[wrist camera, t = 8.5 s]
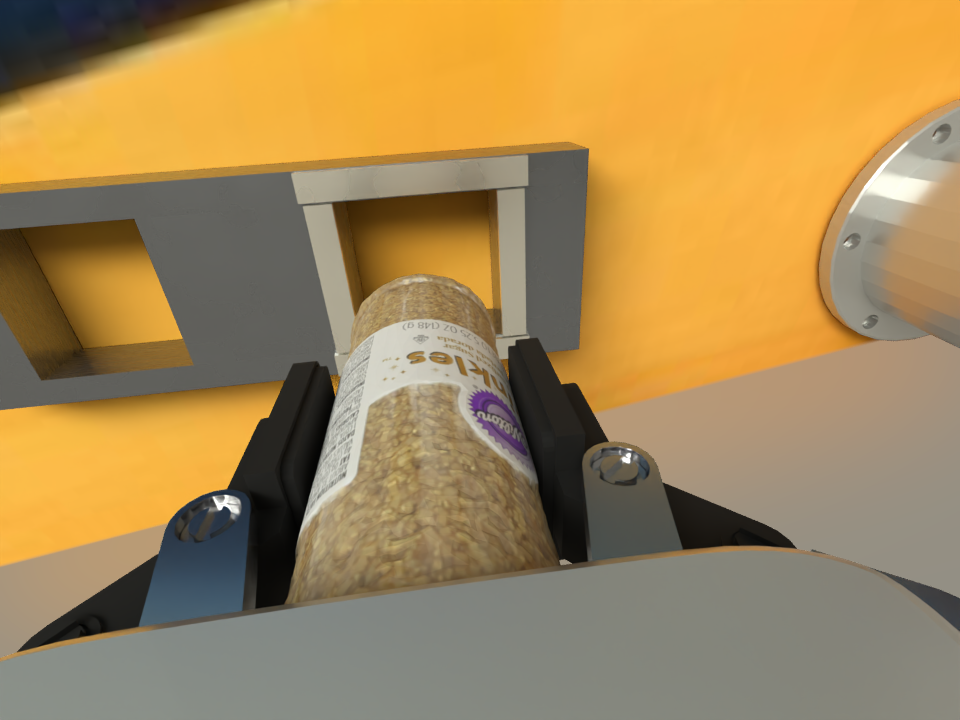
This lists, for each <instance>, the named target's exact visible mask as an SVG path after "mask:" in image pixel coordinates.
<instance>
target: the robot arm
mask: <svg viewBox="0 0 960 720" xmlns="http://www.w3.org/2000/svg"><path fill="white" fill-rule="evenodd" d="M819 280H820V288H821V291H822V295H823V298H824V302H825V303H826V305H827V307H828V308H829V310H830V311H831V313H832V315H833V316H834V317H836V318H837V319H838V320H839V321H840V322H841V323H842V324H843V325H845V326H847V327H848V328H850V329H852V330H854V331H856V332H857V333H859V334H861V335H864V336H867V337H870V338H873V339H877V340H887V341H900V340H910V339H916V338H920V337H923V336H927V335H933V336H935V337H938V338H940V339H942V340H944V341H946V342H948V343H950V344H952V345H954V346H956V347H959V348H960V99H959V100H956V101H953V102H951V103H949V104H947V105H945V106H943V107H940V108H938V109H936V110H934V111H932V112H930V113H928V114H926V115H925V116H923V117H922V118H920V119H919V120H917V121H916V122H914V123H913V124H911V125H910V126H908V127H907V128H905V129H904V130H903V131H901V132H900V133H899V134H898V135H897V136H896V137H895V138H893V139H892V140H891V141H890V142H889V143H888V144H887V145H885V146H884V147H883V148H882V149H881V150H880V151H879V152H878V153H877V154H876V155H875V156H874V157H873V158H872V160H871V161H870V162H869V163H868V164H867V165H866V166H865V167H864V168H863V170H862V171H861V172H860V173H859V174H858V176H857V177H856V179H855V180H854V182H853V183H852V184H851V186H850V187H849V189H848V190H847V192H846V193H845V195H844V196H843V198H842V200H841V201H840V203H839V205H838V207H837V209H836V211H835V213H834V215H833V217H832V219H831V221H830V224H829V227H828V230H827V232H826V235H825V238H824V241H823V244H822V250H821V256H820V262H819ZM508 367H509V384H510V387H511V390H512V394H513V397H514V400H515V404H516V407H517V410H518V413H519V417H520V420H521V423H522V427H523V430H524V433H525V436H526V440H527V443H528V447H529V450H530V453H531V457H532V460H533V463H534V467H535V470H536V474H537V478H538V489H539V494H540V497H541V501H542V506H543V511H544V513H545V515H546V520H547V523H548V528H549V530H550V533H551V536H552V539H553V542H554V544H555V547H556V550H557V553H558V556H559V560H563V559H565V560H567V561H569V562H571V563H572V564H567V565H560V566H553V567H545V568H538V569H531V570H524V571H516V572H509V573H502V574H494V575H487V576H480V577H473V578H466V579H459V580H452V581H445V582H438V583H431V584H423V585H416V586H409V587H402V588H395V589H388V590H381V591H375V592H368V593H361V594H354V595H347V596H340V597H333V598H326V599H319V600H312V601H306V602H299V603H292V604H285V605H284V603H285V602H286V600H287V598H288V594H289V589H290V584H291V578H292V576H293V572H294V568H295V564H296V546H297V541H298V537H299V533H300V530H301V526H302V522H303V519H304V515H305V511H306V507H307V504H308V500H309V496H310V493H311V489H312V485H313V482H314V478H315V474H316V470H317V466H318V462H319V459H320V455H321V451H322V447H323V443H324V439H325V435H326V431H327V427H328V424H329V420H330V416H331V412H332V408H333V404H334V400H335V393H334V389H333V385H332V381H331V377H330V373H329V370H328V367H327V366H320V364H319V362H318V361H311V362H302V363H293V365H292V367H291V369H290V371H289V373H288V376H287V378H286V380H285V382H284V384H283V387H282V389H281V391H280V393H279V396H278V398H277V400H276V402H275V405H274V407H273V409H272V411H271V413H270V416H269V418H264V419H261V420H260V422H259V423H258V425H257V427H256V429H255V431H254V433H253V435H252V438H251V440H250V442H249V444H248V446H247V448H246V450H245V452H244V455H243V457H242V459H241V461H240V463H239V465H238V467H237V469H236V471H235V474H234V476H233V478H232V480H231V482H230V484H229V486H228V488H227V489H225V490H219V491H213V492H210V493H208V494H205V495H202V496H200V497H198V498H196V499H194V500H192V501H191V502H189V503H187V504H186V505H185V506H184V507H182V508H181V509H180V510H179V511H177V513H176V514H175V515H174V516H173V517H172V518H171V520H170V521H169V523H168V525H167V527H166V529H165V533H164V536H163V540H162V543H161V547H160V551H159V554H157V555H156V556H154V557H152V558H151V559H150V560H148V561H146V562H145V563H143V564H142V565H140V566H139V567H137V568H136V569H134V570H132V571H131V572H129V573H128V574H126V575H125V576H123V577H122V578H120V579H118V580H117V581H115V582H114V583H112V584H111V585H109V586H108V587H106V588H105V589H103V590H102V591H100V592H98V593H97V594H95V595H94V596H92V597H91V598H89V599H88V600H86V601H84V602H83V603H81V604H80V605H78V606H77V607H76V608H74V609H72V610H71V611H69V612H68V613H66V614H64V615H63V616H61V617H60V618H58V619H57V620H55V621H54V622H52V623H50V624H49V625H47V626H46V627H45V628H43V629H42V630H41V631H39V632H38V633H37V634H36V635H34V636H33V637H31V639H29V640H28V641H27V642H26V643H25V644H24V645H23V646H22V647H21V648H20V649H19V650H18V651H17V653H14V654H11V655H8V656H5V657H2V658H0V720H960V598H958V597H956V596H953V595H951V594H949V593H947V592H944V591H942V590H940V589H937V588H934V587H930V586H927V585H924V584H921V583H917V582H914V581H911V580H908V579H905V578H902V577H898V576H895V575H892V574H889V573H886V572H882V571H879V570H876V569H873V568H870V567H867V566H864V565H861V564H858V563H855V562H852V561H849V560H846V559H842V558H838V557H835V556H831V555H828V554H825V553H822V552H819V551H816V550H811V551H805V550H799V549H797V548H796V547H795V546H794V545H793V543H792V542H791V541H790V540H789V539H787V538H786V537H785V536H783V535H782V534H781V533H780V532H778V531H777V530H775V529H773V528H771V527H769V526H767V525H765V524H763V523H760V522H758V521H755V520H752V519H750V518H748V517H746V516H743V515H741V514H738V513H736V512H733V511H731V510H729V509H726V508H724V507H721V506H719V505H716V504H714V503H711V502H709V501H707V500H704V499H702V498H699V497H697V496H695V495H692V494H690V493H687V492H685V491H682V490H680V489H678V488H675V487H672V486H670V485H668V484H665V483H663V482H662V479H661V476H660V472H659V469H658V466H657V464H656V462H655V461H654V459H653V458H652V457H651V456H650V455H649V454H648V453H647V452H646V451H644V450H642V449H640V448H639V447H637V446H634V445H630V444H627V443H622V442H609V441H608V439H607V438H606V436H605V434H604V432H603V430H602V429H601V427H600V425H599V423H598V421H597V419H596V417H595V416H594V414H593V412H592V410H591V408H590V407H589V405H588V403H587V401H586V399H585V398H584V396H583V394H582V392H581V390H580V388H579V387H578V385H577V384H576V383H569V384H561V383H560V381H559V379H558V377H557V375H556V373H555V371H554V369H553V367H552V365H551V363H550V361H549V359H548V357H547V355H546V353H545V351H544V349H543V347H542V345H541V343H540V341H539V339H538V338H528V339H519V340H516V341H515V345H514V346H508Z"/></svg>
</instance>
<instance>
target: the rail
mask: <svg viewBox="0 0 960 720" xmlns="http://www.w3.org/2000/svg"><path fill="white" fill-rule="evenodd" d="M588 156H589V149H588V148H585V147H582V146H579V145H576V144H573V143H570V142H559V143H546V144H533V145H519V146H506V147H493V148H479V149H466V150H452V151H439V152H426V153H412V154H399V155H386V156H372V157H359V158H346V159H332V160H319V161H306V162H292V163H279V164H266V165H252V166H239V167H226V168H212V169H199V170H186V171H172V172H159V173H146V174H132V175H119V176H105V177H92V178H79V179H65V180H52V181H39V182H25V183H12V184H0V410H5V409H14V408H24V407H33V406H43V405H52V404H62V403H71V402H81V401H90V400H100V399H109V398H118V397H128V396H137V395H147V394H156V393H166V392H175V391H185V390H194V389H204V388H213V387H223V386H232V385H242V384H251V383H261V382H270V381H280V380H286V378H287V376H288V373H289V371H290V369H291V367H292V365H293V363H302V362H311V361H318V362H319V364H320V366H327V367H328V370H329V373H330V375H336V374H339V376H341V374H342V371H343V369H344V367H345V364H346V363H347V361H348V356H349V353H350V348H351V342H350V340H351V330H352V325H353V322H354V318H355V317H356V315H357V313H358V311H359V309H360V306H361V304H362V302H363V301H364V296H363V291H362V286H361V281H360V275H359V270H358V265H357V260H356V254H355V249H354V244H353V239H352V233H351V228H350V223H349V217H348V212H347V207H346V201H358V200H371V199H383V198H395V197H408V196H420V195H432V194H445V193H457V192H469V191H482V190H488V209H489V230H490V251H491V272H492V293H493V309H487V311H488V313H489V315H490V317H491V319H492V321H493V326H494V330H495V336H496V348H497V351H498V355H499V359H508V346H514V345H515V341H516V340H519V339H528V338H538V339H539V341H540V343H541V345H542V347H543V349H544V351H545V352H554V351H564V350H573V349H579V335H580V315H581V295H582V275H583V255H584V236H585V216H586V196H587V176H588ZM124 219H134V220H135V222H136V225H137V227H138V229H139V232H140V234H141V237H142V239H143V242H144V244H145V247H146V249H147V251H148V254H149V256H150V259H151V261H152V264H153V266H154V269H155V271H156V274H157V276H158V278H159V281H160V283H161V286H162V288H163V291H164V293H165V296H166V298H167V301H168V303H169V305H170V308H171V310H172V313H173V315H174V318H175V320H176V323H177V325H178V327H179V330H180V332H181V335H182V337H183V339H180V340H170V341H160V342H149V343H139V344H129V345H119V346H109V347H99V348H88V349H82V347H81V345H80V343H79V341H78V339H77V337H76V336H75V334H74V332H73V330H72V328H71V326H70V324H69V322H68V320H67V319H66V317H65V315H64V313H63V311H62V309H61V307H60V305H59V303H58V302H57V300H56V298H55V296H54V294H53V292H52V290H51V288H50V286H49V285H48V283H47V281H46V279H45V277H44V275H43V273H42V271H41V270H40V268H39V266H38V264H37V262H36V260H35V258H34V256H33V254H32V253H31V251H30V249H29V247H28V245H27V243H26V241H25V239H24V237H23V236H22V234H21V232H20V230H19V228H25V227H37V226H50V225H62V224H75V223H87V222H99V221H112V220H124Z"/></svg>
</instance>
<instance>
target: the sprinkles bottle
mask: <svg viewBox="0 0 960 720" xmlns="http://www.w3.org/2000/svg"><path fill="white" fill-rule="evenodd" d="M350 342H351V348H350V353H349V356H348V361H347V363H346V364H345V367H344V369H343V371H342V374H341V377H340V381H339V385H338V389H337V393H336V397H335V400H334V404H333V408H332V412H331V416H330V420H329V424H328V427H327V431H326V435H325V439H324V443H323V447H322V451H321V455H320V459H319V462H318V466H317V470H316V474H315V478H314V482H313V485H312V489H311V493H310V496H309V500H308V504H307V507H306V511H305V515H304V519H303V522H302V526H301V530H300V533H299V537H298V541H297V546H296V564H295V568H294V572H293V576H292V578H291V584H290V589H289V594H288V598H287V600H286V602H285V603H284V605H285V604H292V603H299V602H306V601H312V600H319V599H326V598H333V597H340V596H347V595H354V594H361V593H368V592H375V591H381V590H388V589H395V588H402V587H409V586H416V585H423V584H431V583H438V582H445V581H452V580H459V579H466V578H473V577H480V576H487V575H494V574H502V573H509V572H516V571H524V570H531V569H538V568H545V567H553V566H560V562H559V556H558V553H557V550H556V547H555V544H554V542H553V539H552V536H551V533H550V530H549V528H548V523H547V520H546V515H545V513H544V511H543V506H542V501H541V497H540V494H539V489H538V478H537V474H536V470H535V467H534V463H533V460H532V457H531V453H530V450H529V447H528V443H527V440H526V436H525V433H524V430H523V427H522V423H521V420H520V417H519V413H518V410H517V407H516V404H515V400H514V397H513V394H512V390H511V387H510V384H509V380H508V377H507V373H506V371H505V368H504V366H503V364H502V362H501V361H500V359H499V355H498V351H497V348H496V336H495V330H494V326H493V321H492V319H491V317H490V315H489V313H488V311H487V309H486V307H485V306H484V304H483V302H482V301H481V299H480V298H479V297H478V296H477V295H476V294H474V293H473V292H472V291H471V289H470V288H468V287H467V286H464V285H462V284H460V283H458V282H456V281H455V280H453V279H450V278H447V277H440V276H435V275H425V274H415V275H410V276H403V277H400V278H396V279H395V280H393V281H391V282H389V283H387V284H384V285H383V286H381V287H380V288H378V289H377V290H376V291H374V292H373V293H372V294H371V295H370V296H369V297H368V298H367V299H366V300H365V301H363V302H362V304H361V306H360V309H359V311H358V313H357V315H356V317H355V318H354V322H353V325H352V330H351V340H350Z"/></svg>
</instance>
